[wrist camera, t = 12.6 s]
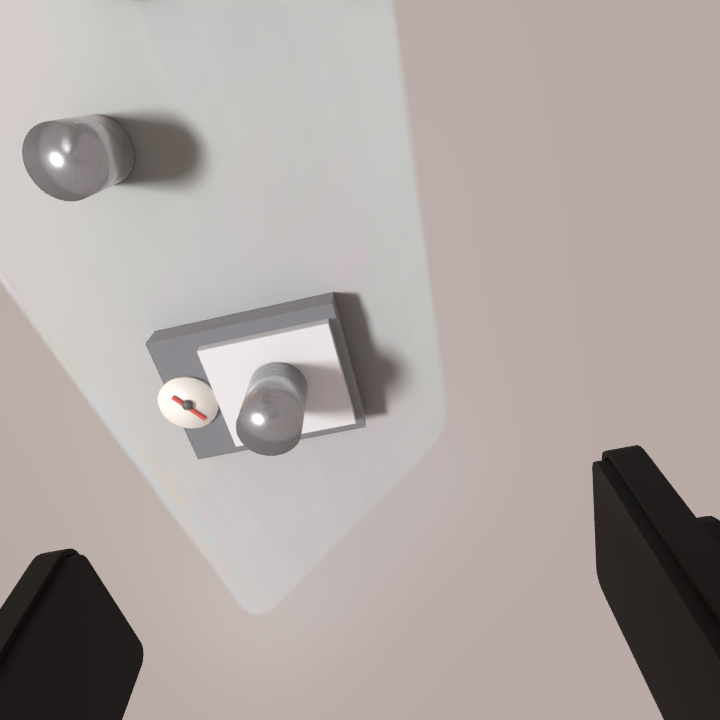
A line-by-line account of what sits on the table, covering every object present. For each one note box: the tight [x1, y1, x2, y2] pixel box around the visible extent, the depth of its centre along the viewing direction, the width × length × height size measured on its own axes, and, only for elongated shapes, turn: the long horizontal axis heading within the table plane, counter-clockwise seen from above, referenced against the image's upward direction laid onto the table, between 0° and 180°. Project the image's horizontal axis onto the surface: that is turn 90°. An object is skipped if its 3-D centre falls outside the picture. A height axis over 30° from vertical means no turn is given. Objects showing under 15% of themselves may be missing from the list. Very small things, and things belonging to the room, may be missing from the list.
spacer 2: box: [236, 362, 308, 456], centre depth 36 cm, size 4×4×5 cm
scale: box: [146, 292, 365, 459], centre depth 39 cm, size 10×14×3 cm
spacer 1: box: [22, 115, 135, 201], centre depth 31 cm, size 4×4×5 cm
